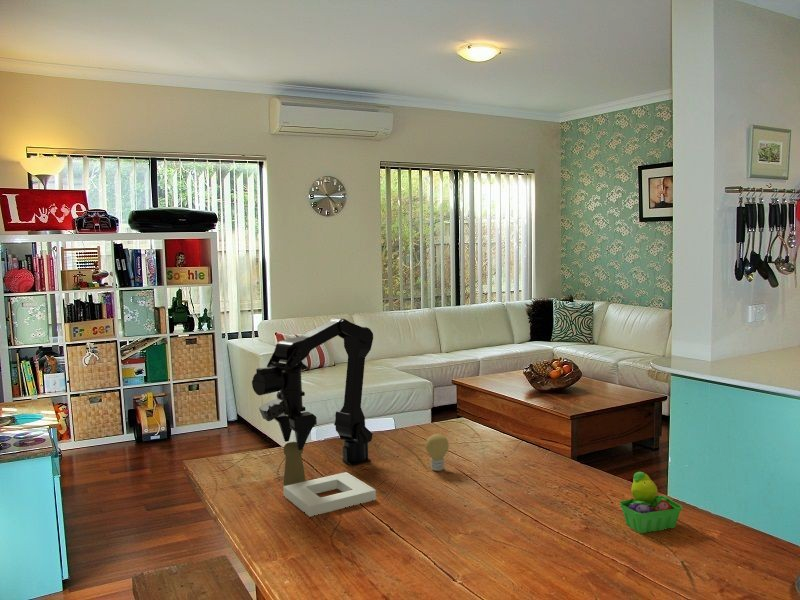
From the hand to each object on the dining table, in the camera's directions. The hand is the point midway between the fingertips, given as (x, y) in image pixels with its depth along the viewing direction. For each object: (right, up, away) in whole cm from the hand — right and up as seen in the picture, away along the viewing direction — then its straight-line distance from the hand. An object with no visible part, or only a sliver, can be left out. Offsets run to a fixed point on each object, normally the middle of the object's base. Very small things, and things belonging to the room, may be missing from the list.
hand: (293, 445), depth 180 cm
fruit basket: (+84, -11, -31) cm, 90 cm away
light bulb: (+39, -9, +8) cm, 41 cm away
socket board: (+11, -11, -10) cm, 18 cm away
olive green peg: (0, -10, +1) cm, 10 cm away
